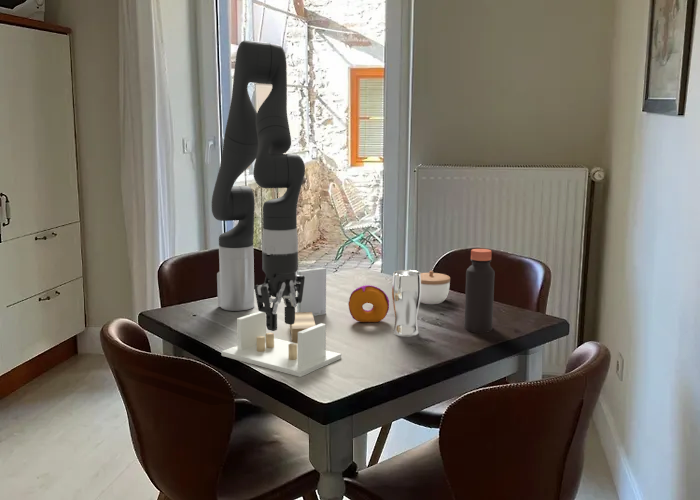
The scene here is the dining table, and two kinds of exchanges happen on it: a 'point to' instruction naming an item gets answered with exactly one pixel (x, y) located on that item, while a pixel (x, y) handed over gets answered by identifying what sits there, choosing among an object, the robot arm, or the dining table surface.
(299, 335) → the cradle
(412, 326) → the beer glass
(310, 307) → the external hard drive
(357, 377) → the dining table surface
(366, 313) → the donut
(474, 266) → the bottle
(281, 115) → the robot arm
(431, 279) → the lidded jar
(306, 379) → the dining table surface
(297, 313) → the plank
